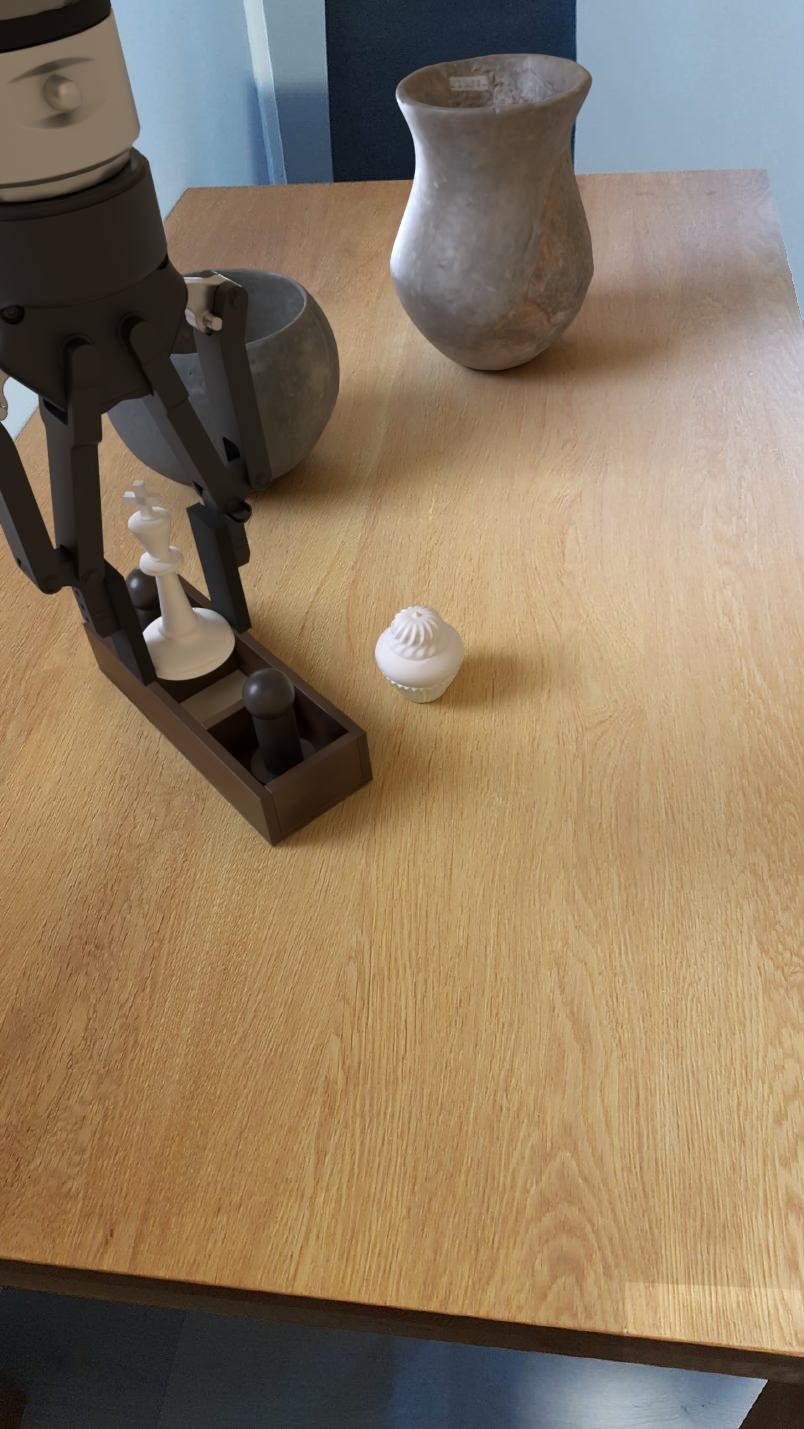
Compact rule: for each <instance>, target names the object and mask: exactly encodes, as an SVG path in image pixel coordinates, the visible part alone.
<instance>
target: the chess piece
mask: <svg viewBox="0 0 804 1429" xmlns="http://www.w3.org/2000/svg"><path fill="white" fill-rule="evenodd" d="M131 488H132V491H127V490H126V491H125V493H124V494H122V499H123V502H124V505H125V506H137V508H138V510H137V511H136V512H134V513H133V514H131V516H130V517H129V519H128V521H127V527H128V529H129V532H130V533H131V534H132V535H133V537H134V538H135V539H136V540H137V541H138V542H139V544H140V545H141V547H142V548H143V549H144V551H145V552H144V553H143V554H142V555H141V557H140V558H139V566H140V569H141V571H142V572H143V573H145V574H147V575H150V576H155V577H156V583H157V588H158V594H159V600H160V607H161V614H162V616H161V617H159V618H158V619H156V620H155V621H153V622H152V623H151V624H150V625H149V626H148V627H147V628H146V629H145V630H144V632H143V636H144V639H145V642H146V644H147V647H148V650H149V653H150V656H151V659H152V662H153V665H154V668H155V671H156V674H157V677H159V678H162V679H167V680H186V679H192V678H196V677H199V676H202V675H205V674H207V673H209V672H211V671H213V670H214V669H216V668H218V667H219V666H220V665H221V664H223V663H224V662H225V661H226V660H227V658H228V657H229V656H230V654H231V653H232V650H233V648H234V644H235V637H234V634H233V631H232V630H231V628H230V625H229V623H228V621H227V620H226V619H225V618H224V617H223V616H222V615H220V614H219V613H217V612H215V611H212V610H209V609H204V608H192V607H191V605H190V603H189V601H188V599H187V597H186V594H185V592H184V590H183V588H182V586H181V583H180V581H179V579H178V576H177V574H178V573H177V572H176V571H178V570H179V569H180V568H181V567H182V566H183V564H184V562H185V556H184V554H183V552H182V551H181V549H179V548H178V547H176V546H174V545H170V544H171V543H170V542H171V528H172V516H171V513H170V512H169V511H168V510H167V509H166V508H163V507H160V506H161V505H162V503H163V501H164V500H163V496H162V493H161V492H152V491H151V492H150V491H148V489H147V486H146V482H145V480H139V479H134V481H133V482H132V485H131Z"/></svg>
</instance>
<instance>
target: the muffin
mask: <svg viewBox="0 0 804 1429" xmlns="http://www.w3.org/2000/svg"><path fill="white" fill-rule="evenodd" d="M374 656H375V661H376V664H377V666H378V668H379V670H380V671H381V672H382V675H383V677H385V678H386V680H387V682H388V683H389V684H390V685H392V687H393V688H394V689H395V690H396V691H397V692H398V693H399V694H400V695H401V696H402V697H404V699H405V700H409V701H410V702H414V703H418V704H425V703H429V702H434V701H435V700H437V699H438V698H441V697H442V696H443V694H444V693H445V692H446V691H447V689H448V688H449V686H450V685H451V683H452V682H453V680H454V679H455V677H456V676H457V675H458V673H459V670H460V668H461V665H462V663H463V661H464V657H465V644H464V640H463V638H462V636H461V634H460V633H459V631H458V630H457V629H456V628H455V626H453V625H451V624H450V623H448V622H447V621H445V620H444V617H443V616H442V615H441V614H440V613H439V612H438V610H436V609H434V608H432V607H430V606H428V605H420V604H416V605H415V606H413V605H409V606H408V607H407V608H402V609H401V610H400V612H397V613H396V614H395V615H394V619H393V620H392V621H391V623H390V626H388V627H386V629H385V630H384V631H383V632H382V633H381V634H380V636H379V637H378V640H377V642H376V645H375V649H374Z"/></svg>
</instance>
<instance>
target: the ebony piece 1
mask: <svg viewBox="0 0 804 1429" xmlns="http://www.w3.org/2000/svg"><path fill="white" fill-rule="evenodd" d="M125 582H126V585H127V588H128V591H129V594H130V597H131V600H132V603H133V606H134V608H135V611H136V614H137V617H138V620H139V623H140V626H141V629H142V632H144V630H145V629H146V628H147V627H148V626H149V625H150V624H151V623H152V622H153V621H155V620H156V619H158V618H159V617H161V616H162V614H161V607H160V600H159V594H158V588H157V583H156V577H155V576H150V575H147V574H145V573H143V572H142V571H141V569H140V565H138V566H136V567H134V568H133V569H132V570H130V572H128V574H127V576H126V578H125Z"/></svg>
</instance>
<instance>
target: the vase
mask: <svg viewBox="0 0 804 1429" xmlns="http://www.w3.org/2000/svg"><path fill="white" fill-rule="evenodd" d="M592 85H593V77H592V75H591V73H590V72H589V70H588V69H586V67H584V66H583V65H582V64H580V63H578V62H576V61H574V60H572V59H570V58H564V57H560V56H555V55H548V54H541V53H498V54H497V53H496V54H488V55H484V56H476V57H472V58H471V57H470V58H467V59H459V60H454V61H453V60H452V61H447V62H446V61H444V62H440V63H435V64H431V65H430V64H429V65H425V66H424V67H421V68H419V69H417V70H415V71H413V72H412V73H410V74H409V75H407V76H406V77H404V78H403V79H402V80H400V82H399V83H398V85H397V86H396V89H395V99H396V102H397V103H398V104H397V105H398V107H399V109H400V111H401V113H402V115H403V117H404V119H405V121H406V123H407V125H408V128H409V130H410V133H411V136H412V139H413V145H414V154H415V171H414V177H413V181H412V187H411V190H410V194H409V197H408V199H407V200H408V201H407V203H406V207H405V210H404V212H403V216H402V219H401V222H400V225H399V228H398V231H397V234H396V237H395V240H394V242H393V246H392V250H391V255H390V261H389V268H390V277H391V281H392V285H393V287H394V290H395V292H396V295H397V297H398V300H399V302H400V304H401V306H402V308H403V310H404V311H405V313H406V315H407V316H408V318H409V319H410V321H411V322H412V323H413V325H414V326H415V328H416V329H417V330H418V331H419V333H420V334H421V335H422V336H423V337H424V338H425V339H426V340H427V342H429V344H431V345H432V346H433V347H434V348H435V349H437V351H439V352H440V353H441V354H443V356H445V357H446V358H448V359H449V360H451V361H452V362H454V363H456V364H458V365H461V366H464V367H465V368H470V369H475V370H479V371H501V370H507V369H511V368H514V367H518V366H521V365H523V364H524V365H525V364H526V363H528V362H530V361H531V360H533V359H534V358H536V357H537V356H539V355H540V354H541V353H542V352H544V351H545V350H546V349H547V348H549V347H550V346H551V345H552V344H553V343H554V342H556V340H558V339H559V338H560V337H561V336H562V335H563V334H564V333H565V332H566V330H567V329H568V328H569V327H570V325H571V324H572V322H573V321H575V318H577V316H578V315H579V312H580V310H581V308H582V306H583V303H584V301H585V299H586V296H587V293H588V289H589V287H590V285H591V282H592V279H593V278H594V271H595V265H594V264H595V263H594V255H593V254H594V253H593V242H592V241H593V240H592V235H591V230H590V227H589V221H588V218H587V216H586V215H587V214H586V210H585V206H584V204H583V200H582V197H581V192H580V189H579V188H580V187H579V185H578V181H577V178H576V173H575V168H574V165H573V156H572V145H571V139H572V130H573V127H574V125H575V122H576V120H577V117H578V116H579V113H580V111H581V109H582V107H583V106H584V104H585V102H586V99H587V97H588V95H589V92H590V90H591V88H592Z"/></svg>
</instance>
